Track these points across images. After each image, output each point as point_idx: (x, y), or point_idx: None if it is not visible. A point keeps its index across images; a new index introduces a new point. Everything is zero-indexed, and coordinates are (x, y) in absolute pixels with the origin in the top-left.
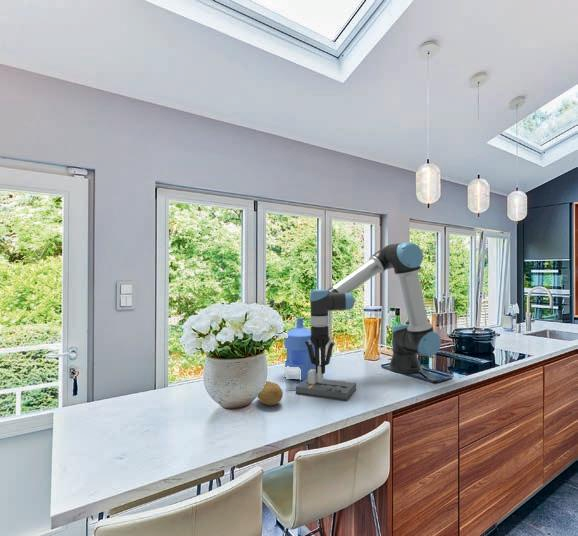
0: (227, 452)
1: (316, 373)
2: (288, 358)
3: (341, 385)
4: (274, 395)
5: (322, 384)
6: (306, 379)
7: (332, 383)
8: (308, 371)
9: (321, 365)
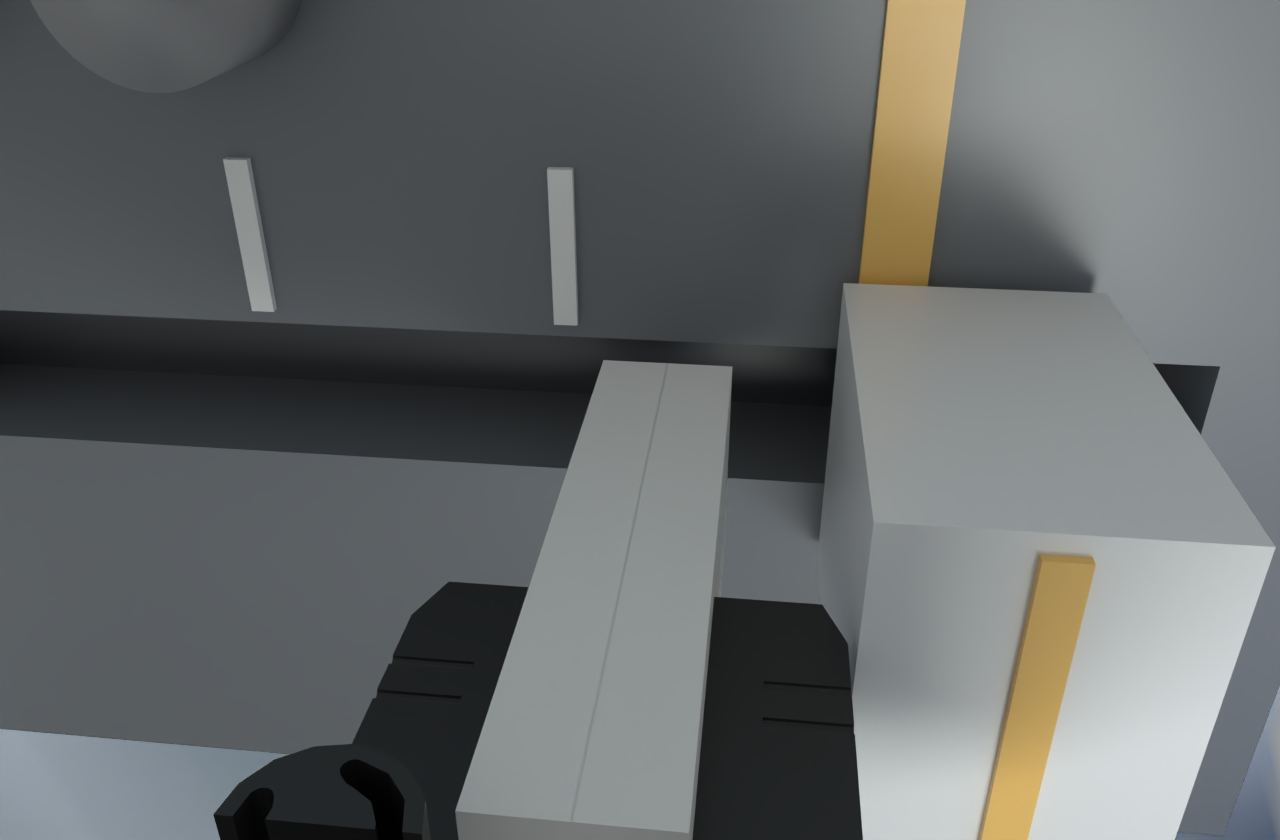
0: None
1: None
2: None
3: (84, 474)
4: None
5: None
6: (1246, 679)
7: (377, 553)
8: (1243, 587)
9: (326, 818)
